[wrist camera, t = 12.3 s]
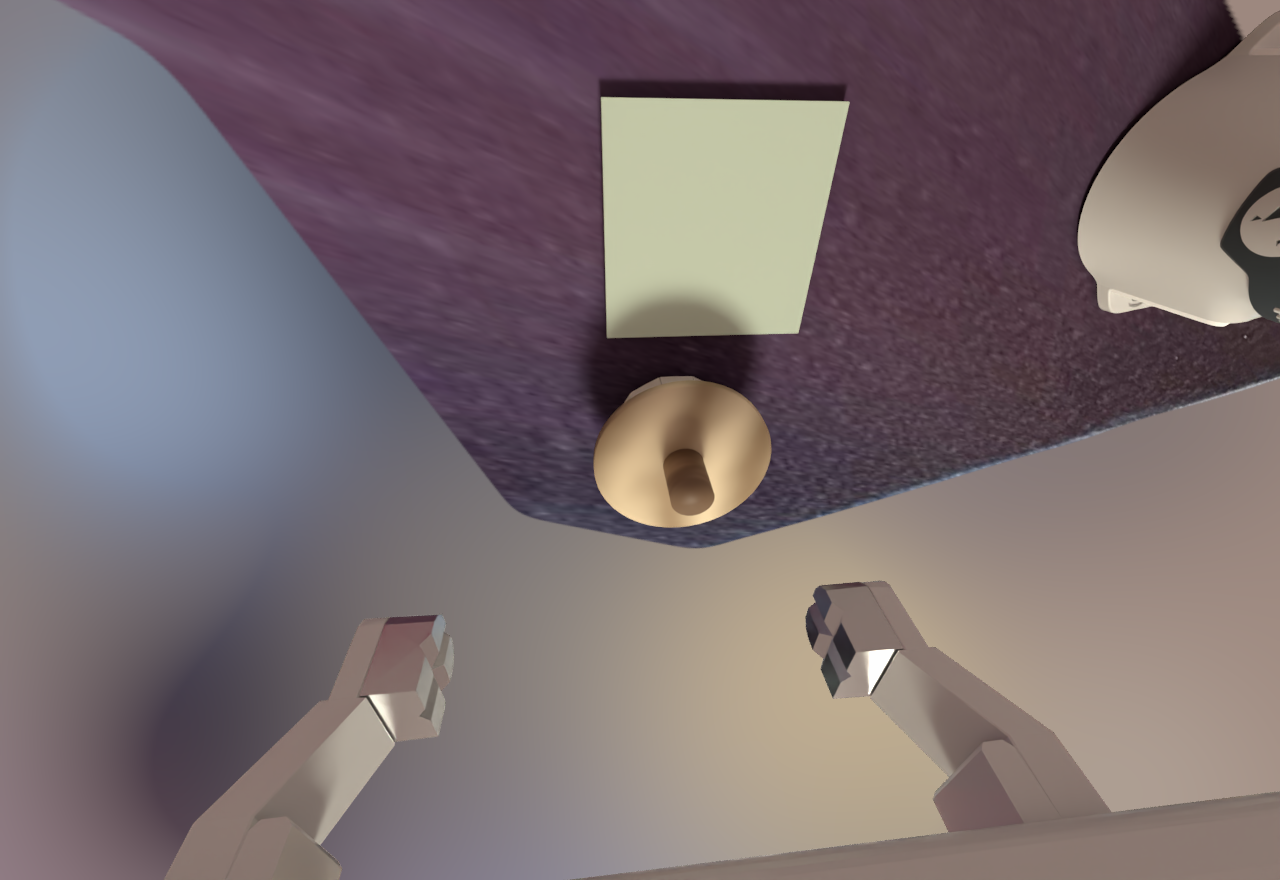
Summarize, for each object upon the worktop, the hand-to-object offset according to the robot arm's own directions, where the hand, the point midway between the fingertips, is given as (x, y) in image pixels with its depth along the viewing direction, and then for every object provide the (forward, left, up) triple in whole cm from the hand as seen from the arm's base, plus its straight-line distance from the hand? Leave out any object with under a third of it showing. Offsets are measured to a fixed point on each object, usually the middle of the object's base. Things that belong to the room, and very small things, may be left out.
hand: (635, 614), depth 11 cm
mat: (-8, -1, -29) cm, 30 cm away
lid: (-6, +15, -24) cm, 29 cm away
